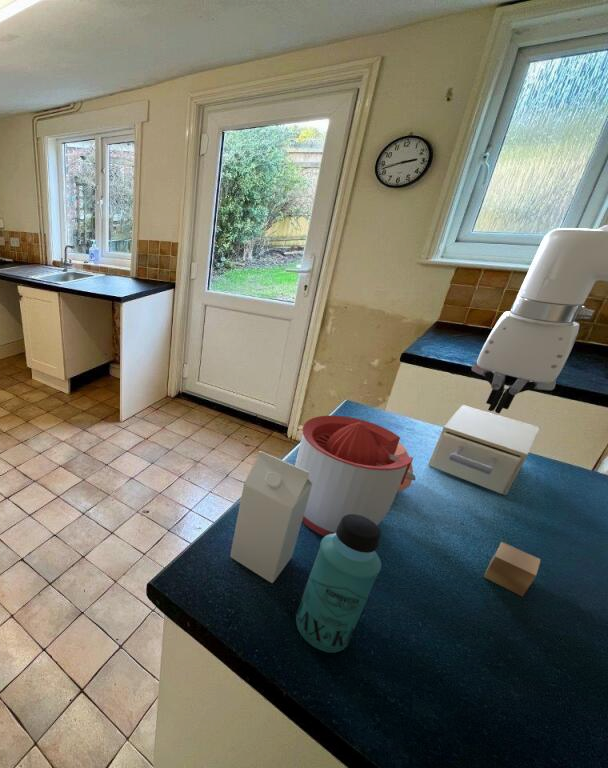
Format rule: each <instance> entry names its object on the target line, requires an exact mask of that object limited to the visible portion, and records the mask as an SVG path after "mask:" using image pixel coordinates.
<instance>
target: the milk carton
mask: <svg viewBox="0 0 608 768" xmlns="http://www.w3.org/2000/svg"><path fill="white" fill-rule="evenodd" d="M308 476H309V472H308V471H306V470H304V469H301V468H299V467H297V466H295V464H292V463H289V462H287V461H284V460H283V459H280V458H277V457H275V456H273V455H271V454H268V453H266V452H264V451H261V450H259V451H258V455H257V458H256V460H255V461H254V463H253V466H252V467H251V469H250V471H249V473H248V475H247V477H246V478H245V480H244V482H243V486H242V492H241V496H240V501H239V507H238V513H237V518H236V523H235V529H234V534H233V539H232V544H231V550H230V555H229V557H230V558H231V559H233V560H234V561H235V562H237V563H239V564H241V565H242V566H243V567H245V568H247V569H249V570H250V571H252V572H253V573H255V574H256V575H257V576H260V578H263V579H264V580H266V581H268V582H269V583H271V584H273V583H274V582H275V581H276V580H277V579H278V577H279V576H280V574H281V573H282V571H283V570H284V569H285V567H286V566H287V565H288V563H289V562H290V560H291V559H292V558H293V554H294V551H295V548H296V544H297V541H298V537H299V533H300V529H301V527H302V523H303V522H302V520H303V516H304V512H305V509H306V505H307V502H308V498H309V495H310V491H311V487H312V483H311V482H310V480H309V479H308Z"/></svg>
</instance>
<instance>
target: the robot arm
mask: <svg viewBox="0 0 608 768" xmlns="http://www.w3.org/2000/svg"><path fill="white" fill-rule="evenodd" d="M542 238H543V239H542V241H541V242H540V245H539V247H538V249H537V251H536V253H535V256H534V258H533V260H532V262H531V264H530V266H529V269H528V271H527V273H526V276H525V277H524V280H523V282H522V284H521V286H520V289H519V291H518V293H517V295H516V297H515V299H514V301H513V304H512V306H511V308H510V311H504V312H503V314H501V316H500V317H499V319H498V320H497V321H496V323H495V325H494V327H493V328H492V329H491V332H490V333H489V335H488V337H487V339H486V341H485V342H484V344H483V346H482V348H481V350H480V352H479V355H478V357H477V361H476V362H475V363H474V364H473V365H472V366H471V369H470V370H471V371H472V372H474V373H476V374H478V375H480V376H483V377H484V378H485V379H486V380H487V382H488V383H489V385H490V387H491V391H490V393H489V395H488V397H487V400H486V402H485V404H487V405H489V407H488V409H487V411H488V412H495V414H501V412H502V410H503V409H505V410H508V409H509V408H510V406H511V404H512V402H513V401H514V398H515V396H516V395H518V394H521V393H523V392H526V391H531V390H540V391H541V390H542V391H553V390H554V389H555V388H556V384H557V383H556V382H557V378H558V377H559V375H560V373H561V372H562V370H563V368H564V366H565V364H566V362H567V360H568V358H569V356H570V354H571V352H572V349H573V347H574V344H575V343H576V340H577V337H578V333H579V330H580V326H581V325H580V323H579V322H577V321H576V320H580V319H581V320H582V319H589V320H590V319H591V318H592V317H593V314H594V313H595V310H594V309H588V307H586V306H584V304H585V302H586V300H587V298H588V296H589V295H590V293H591V291H592V289H593V287H594V285H595V283H596V282H599V281H603V282H608V224H605V225H603V226H601V227H599V228H598V227H597V229H596V228H595V229H594V228H576V227H575V228H574V227H570V228H569V227H565V228H564V227H562V228H555V229H551V231H549V232H548V233H546V234H545V236H544V237H542ZM506 376H508V377H513V378H517V379H516V380H515V381H514V383H513V384H512V385H509V386H508V387H507V388H505V387H506V386H505V385H506V384H505V381H506Z"/></svg>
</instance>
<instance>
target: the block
mask: <svg viewBox="0 0 608 768" xmlns="http://www.w3.org/2000/svg"><path fill="white" fill-rule="evenodd" d="M541 561H542V559H540V557H539V558H538V557H536V556H534V555H532V554H530V553H528V552H525V551H523V550H521V549H518V548H516V547H515V546H512V545H510V544H508V543H506V542H504V541H501V542H500V543H499V545H498V547H497V548H496V551H495V552H494V554H493V556H492V557H491V559H490V561H489V563H488V566H487V568H486V570H485V572H484V575H483V578H485V579H487V580H489V581H491V582H493V583H495V584H497V585H498V586H500V587H503V588H505V589H507V590H509V591H511V592H512V593H514V594H517V595H518V596H521V597H524V596H525V594H526V593H527V591H528V590H529V588H530V586H531V585H532V583H533V582H534V580H535V579H536V577H537V576H538V575H537V574H538V571H539V568H540V564H541Z"/></svg>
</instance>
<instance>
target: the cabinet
mask: <svg viewBox="0 0 608 768" xmlns="http://www.w3.org/2000/svg"><path fill="white" fill-rule="evenodd" d="M540 429H541V426H537V425H533V424H530V423H526V422H523V421H520V420H517V419H513V418H509V417H506V416H502V415H499V414H497V413H492V412H490V411H485V410H482V409H479V408H475V407H471V406H468V405H465V404H462V405H461V406H460V407H459V408H458V410H457V411H456V412H455V413H454V414H453V415H452V416H451V417H450V419H449V420H448V421H447V422H446V424H444V426H443V428H442V430H441V432H440V435H439V437H438V440H437V442H436V444H435V447H434V449H433V451H432V454H431V455H430V459H429V461H428V463H427V466H430V465H431V463H432V460H433V458H434V456H435V453H436V451H437V449H438V446H439V444H440V442H441V439H442V437H443V435H444V433H448V434H450V433H453V434H456V435H459V436H462V437H465V438H468V439H471V440H474V441H477V442H480V443H483V444H486V445H489V446H492V447H495V448H498V449H501V450H504V451H507V452H510V453H513V454H516V457H519V458H521V459H520V461H519V463H518V465H517V467H516V469H515V470H514V472H513V474H512V476H511V478H510V480H509V482H508V483H507V485H506V487H505V489H504V491H503V493H502V494H501V495H504V496H506V495H507V494H508V493H509V491H510V489H511V486H513V483H514V481H515V479H516V477H518V474H519V472H520V471H521V469H522V467H523V464H524V463H525V462H526V458H527V457H528V456H529V454H530V451H531V449H532V447H533V445H534V442H535V440H536V438H537V435H538V433H539V431H540ZM430 467H431V466H430Z"/></svg>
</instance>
